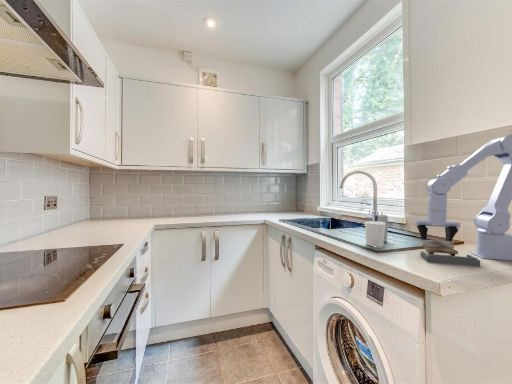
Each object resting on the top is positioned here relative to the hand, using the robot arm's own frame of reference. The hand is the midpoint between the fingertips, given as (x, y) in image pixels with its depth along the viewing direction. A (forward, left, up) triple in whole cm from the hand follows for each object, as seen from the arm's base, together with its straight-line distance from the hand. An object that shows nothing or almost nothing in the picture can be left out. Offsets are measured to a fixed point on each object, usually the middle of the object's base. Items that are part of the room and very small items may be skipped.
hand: (435, 245), depth 95 cm
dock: (0, +8, -3) cm, 8 cm away
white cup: (+21, -4, -3) cm, 22 cm away
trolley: (0, +4, -2) cm, 5 cm away
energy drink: (+17, -14, -3) cm, 22 cm away
